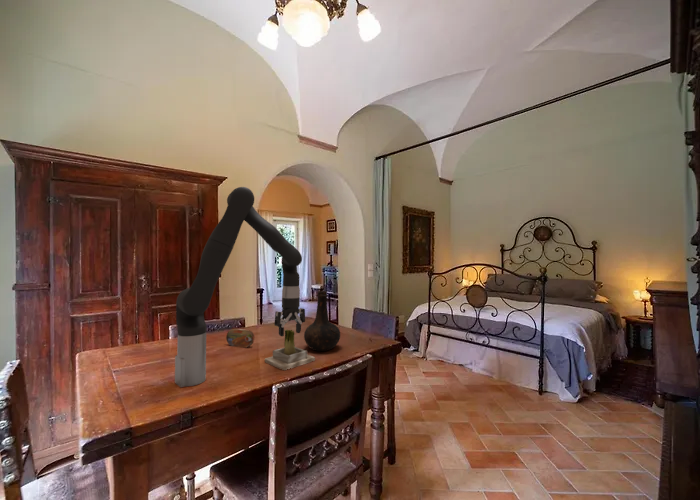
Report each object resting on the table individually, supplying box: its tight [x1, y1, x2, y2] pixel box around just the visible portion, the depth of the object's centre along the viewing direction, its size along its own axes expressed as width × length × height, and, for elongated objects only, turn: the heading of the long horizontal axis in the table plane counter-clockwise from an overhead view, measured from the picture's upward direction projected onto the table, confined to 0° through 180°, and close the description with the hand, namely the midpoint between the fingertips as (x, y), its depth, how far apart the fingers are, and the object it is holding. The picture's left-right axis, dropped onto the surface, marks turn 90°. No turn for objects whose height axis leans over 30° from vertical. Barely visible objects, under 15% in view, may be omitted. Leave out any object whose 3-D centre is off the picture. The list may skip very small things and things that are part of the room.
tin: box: [225, 328, 255, 348], centre depth 153 cm, size 15×3×8 cm, turn 73°
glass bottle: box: [303, 290, 341, 352], centre depth 150 cm, size 18×18×28 cm
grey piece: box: [264, 346, 316, 371], centre depth 131 cm, size 16×14×4 cm
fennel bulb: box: [283, 329, 296, 355], centre depth 131 cm, size 6×5×12 cm
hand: (290, 334), depth 131 cm, fingers open, 8 cm apart
